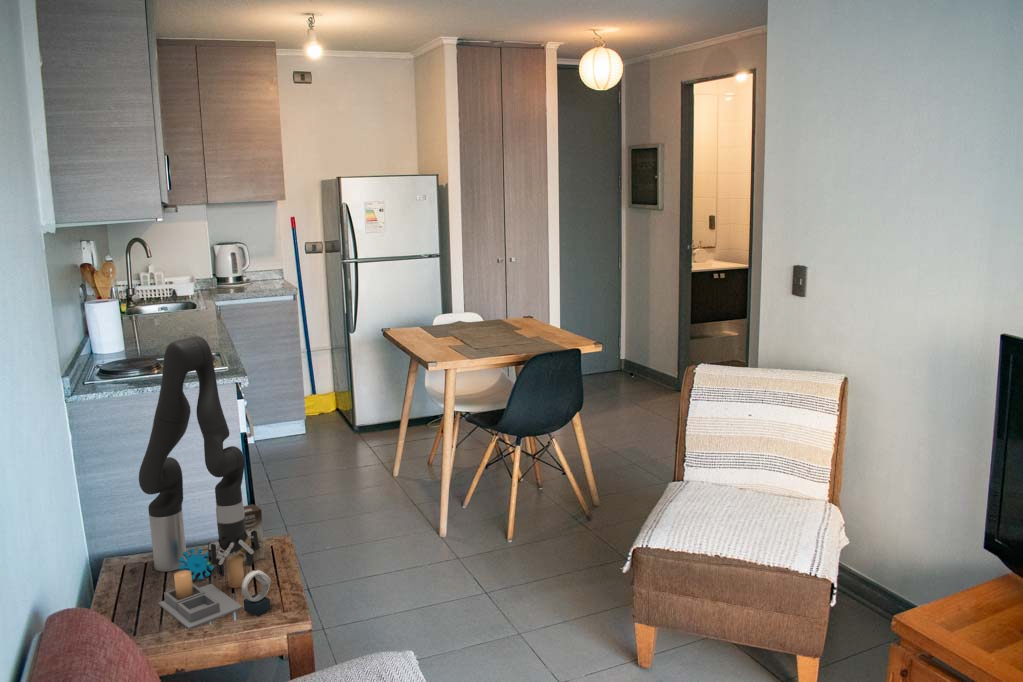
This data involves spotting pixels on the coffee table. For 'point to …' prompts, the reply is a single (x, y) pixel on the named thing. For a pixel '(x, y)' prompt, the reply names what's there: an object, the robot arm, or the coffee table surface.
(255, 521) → the coffee box
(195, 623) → the housing
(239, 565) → the orange peg
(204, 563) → the blue knobbed wheel
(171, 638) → the coffee table surface
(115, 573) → the coffee table surface
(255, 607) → the watch
